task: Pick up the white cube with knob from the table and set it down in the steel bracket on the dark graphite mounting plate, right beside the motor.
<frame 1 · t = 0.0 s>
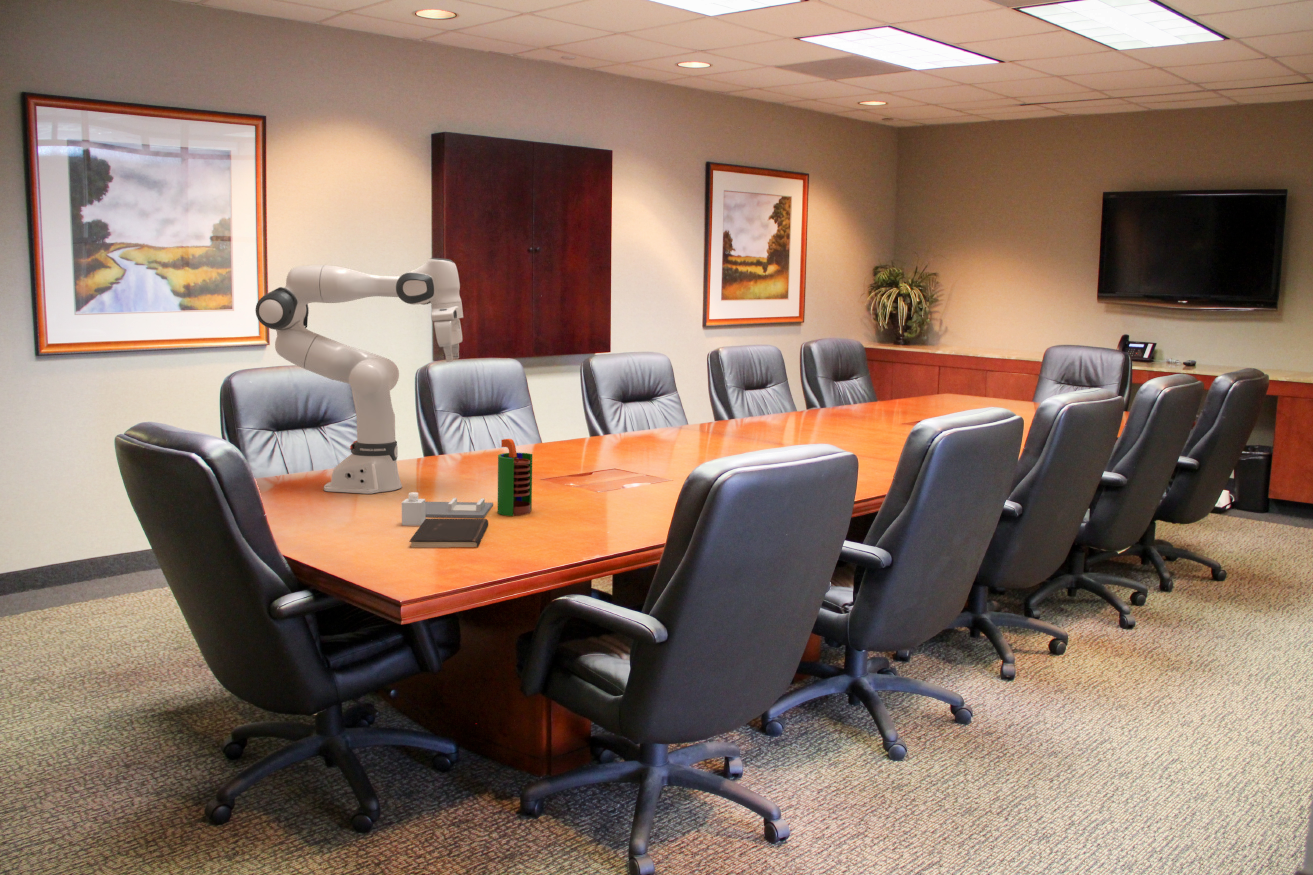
hand: (452, 360, 314), 39 cm above the table, tool pointing down, fingers open, 8 cm apart
motor: (514, 512, 290), on the table
hardcover book: (450, 538, 262), on the table
white cube with knob: (413, 523, 275), on the table
mounting plate: (451, 510, 290), on the table
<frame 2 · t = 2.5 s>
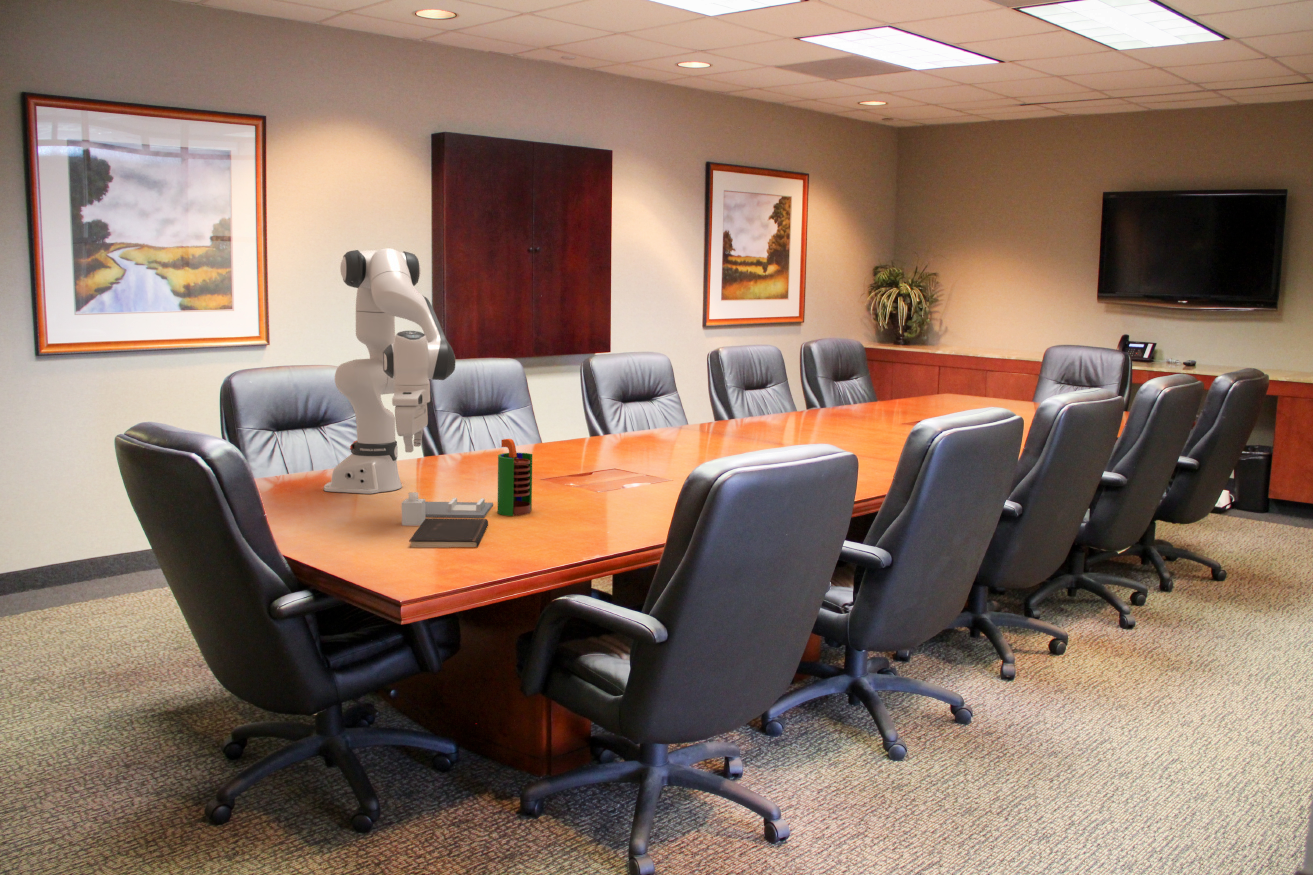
hand: (413, 449, 272), 19 cm above the table, tool pointing down, fingers open, 8 cm apart
nothing on the table moved.
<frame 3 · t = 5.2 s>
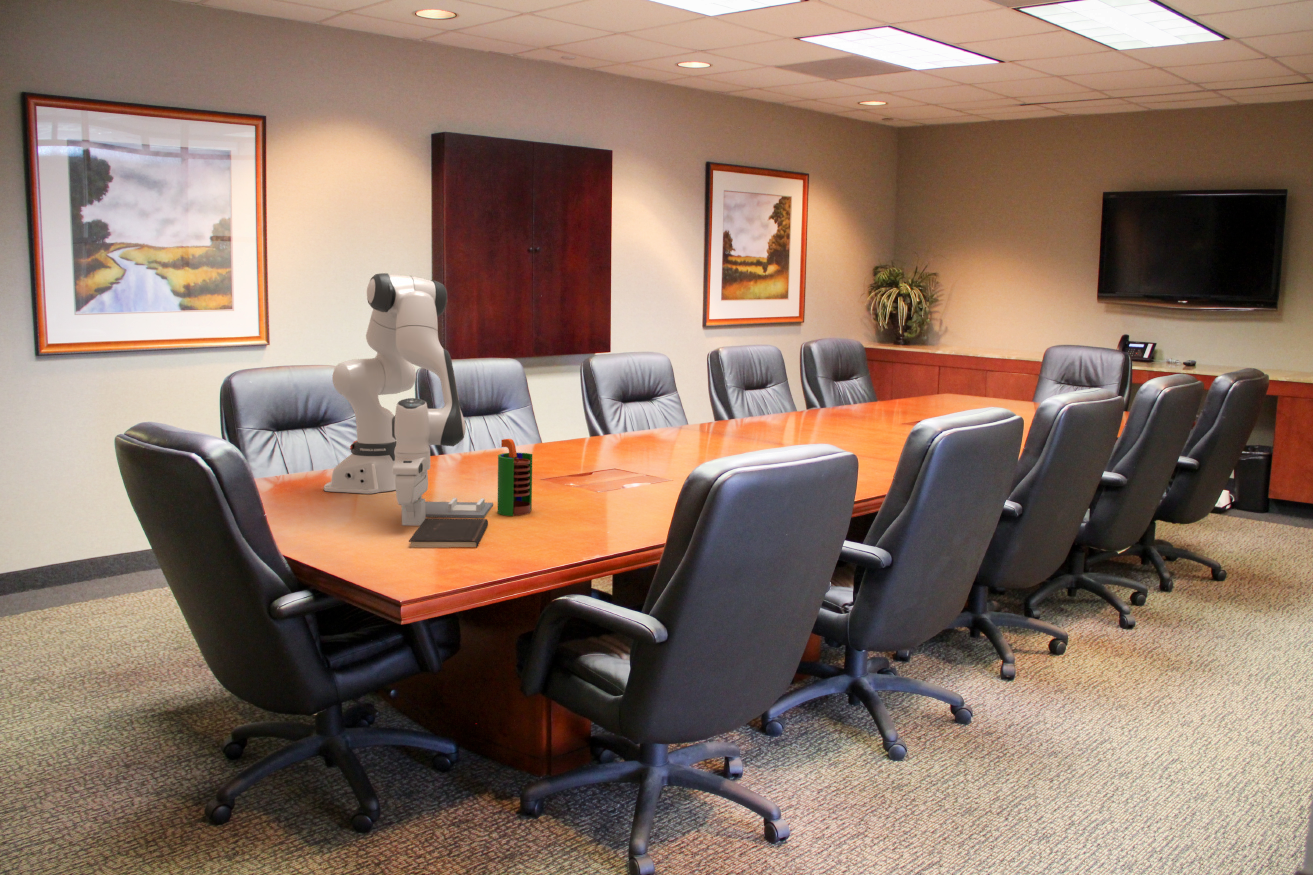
hand: (413, 515, 274), 2 cm above the table, tool pointing down, fingers closed on white cube with knob, 5 cm apart
white cube with knob: (413, 523, 275), on the table, touching gripper
everything else where it was.
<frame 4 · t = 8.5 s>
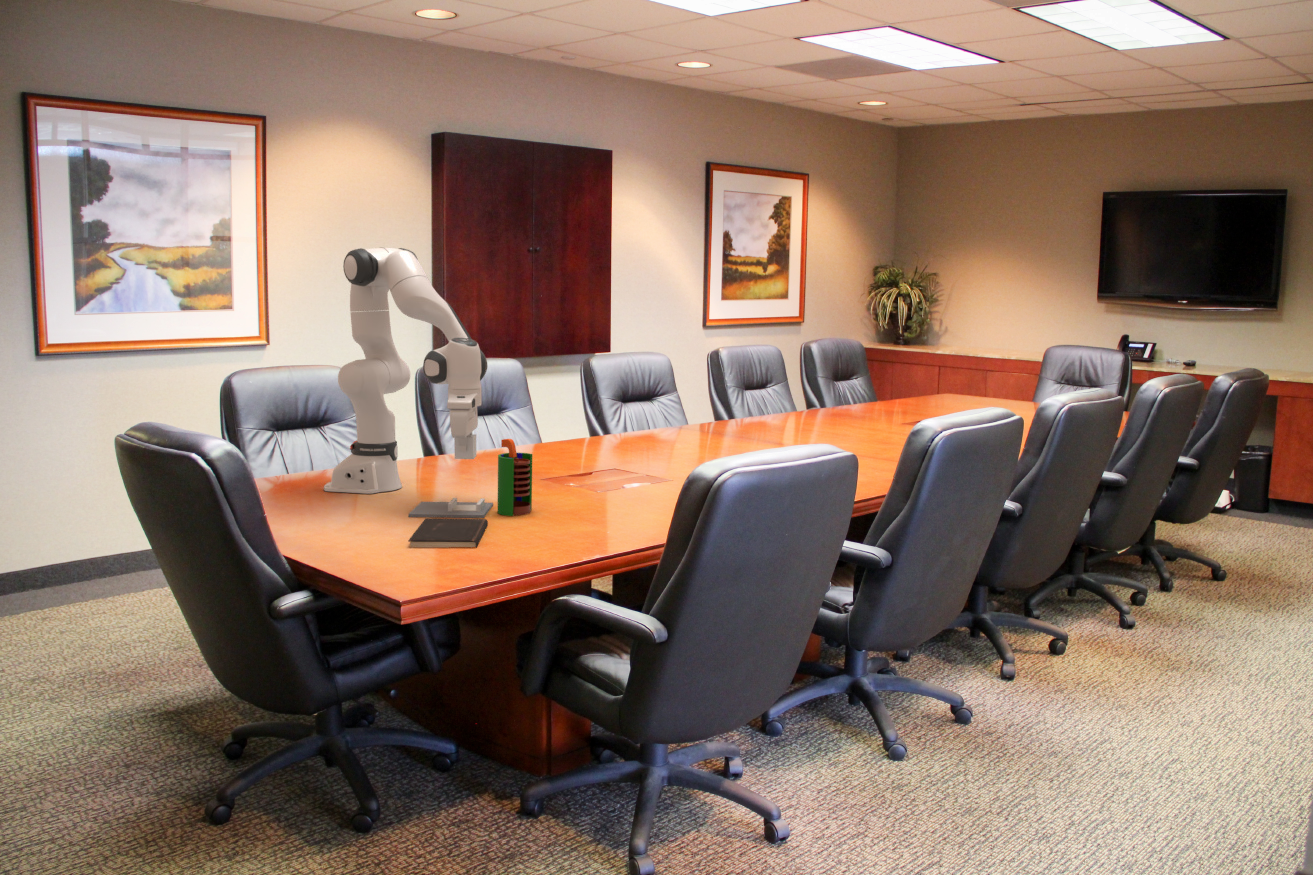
hand: (465, 449, 287), 17 cm above the table, tool pointing down, fingers closed on white cube with knob, 5 cm apart
white cube with knob: (465, 457, 287), point 15 cm above the table, touching gripper
everything else where it was.
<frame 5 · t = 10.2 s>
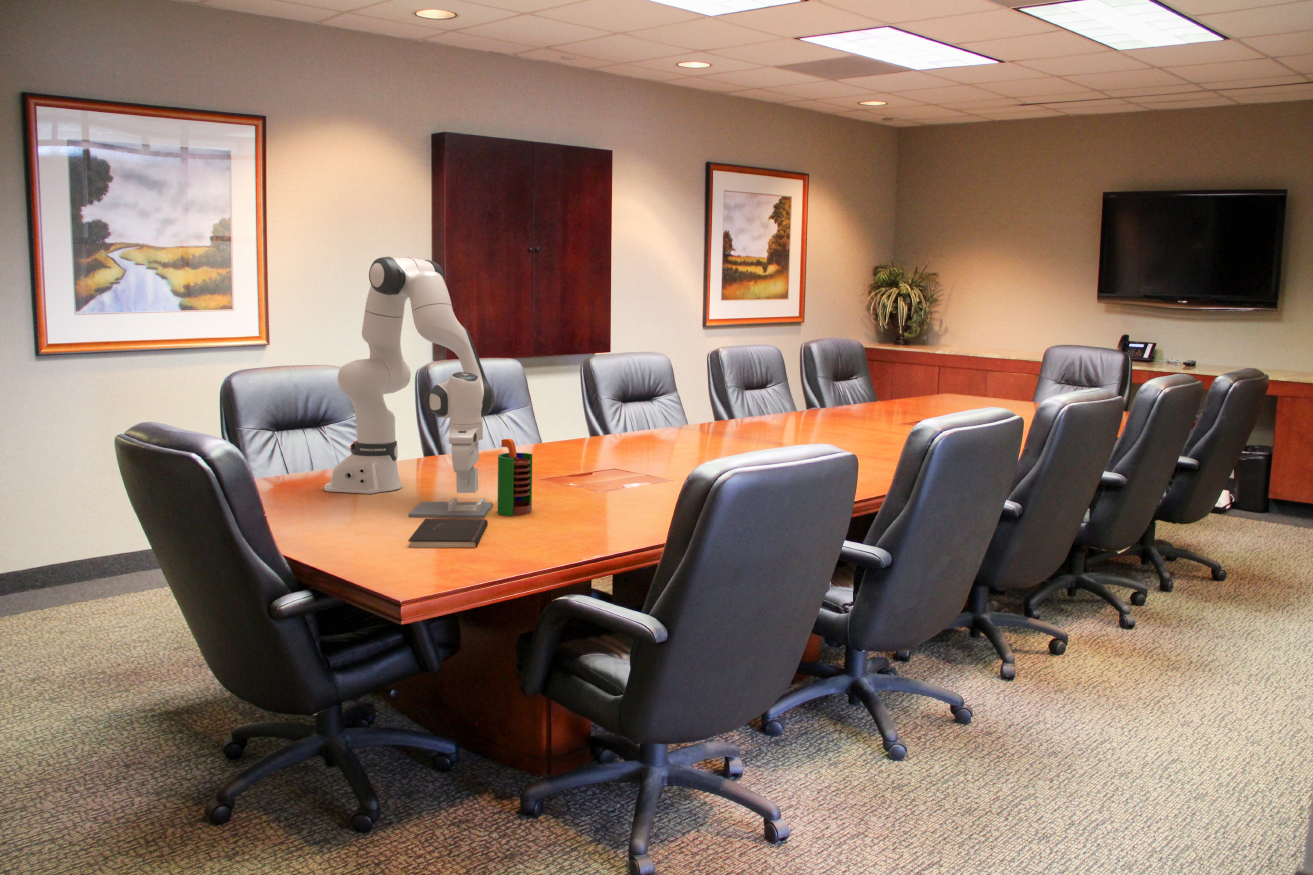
hand: (467, 483, 288), 8 cm above the table, tool pointing down, fingers closed on white cube with knob, 5 cm apart
white cube with knob: (467, 491, 289), point 6 cm above the table, touching gripper
everything else where it was.
when the fingers open (5 cm above the table, at t = 11.7 s): white cube with knob drops 1 cm, resting on mounting plate.
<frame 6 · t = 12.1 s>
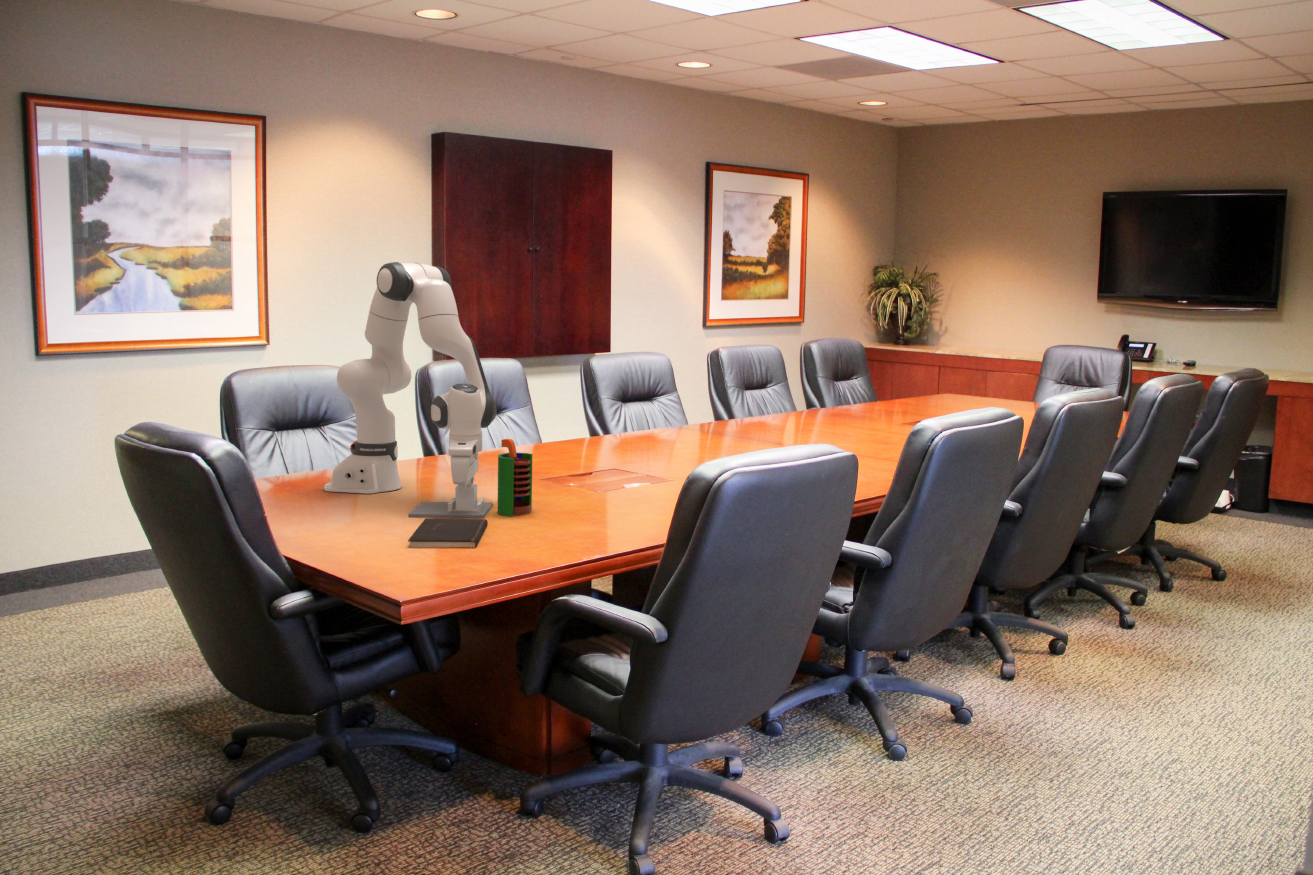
hand: (466, 494, 289), 5 cm above the table, tool pointing down, fingers open, 8 cm apart
white cube with knob: (466, 507, 290), point 1 cm above the table, touching mounting plate
everything else where it was.
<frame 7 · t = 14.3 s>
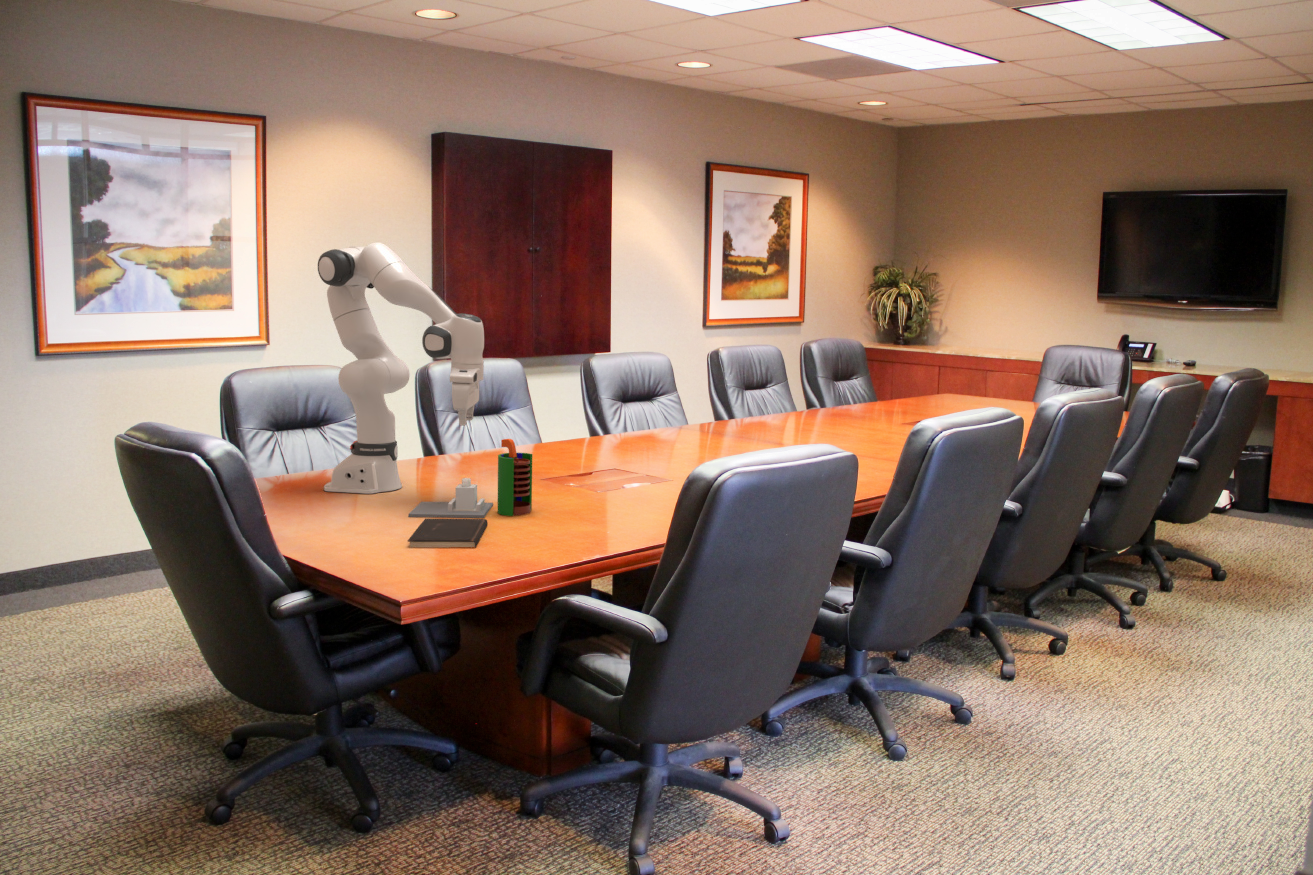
hand: (466, 422, 296), 23 cm above the table, tool pointing down, fingers open, 8 cm apart
nothing on the table moved.
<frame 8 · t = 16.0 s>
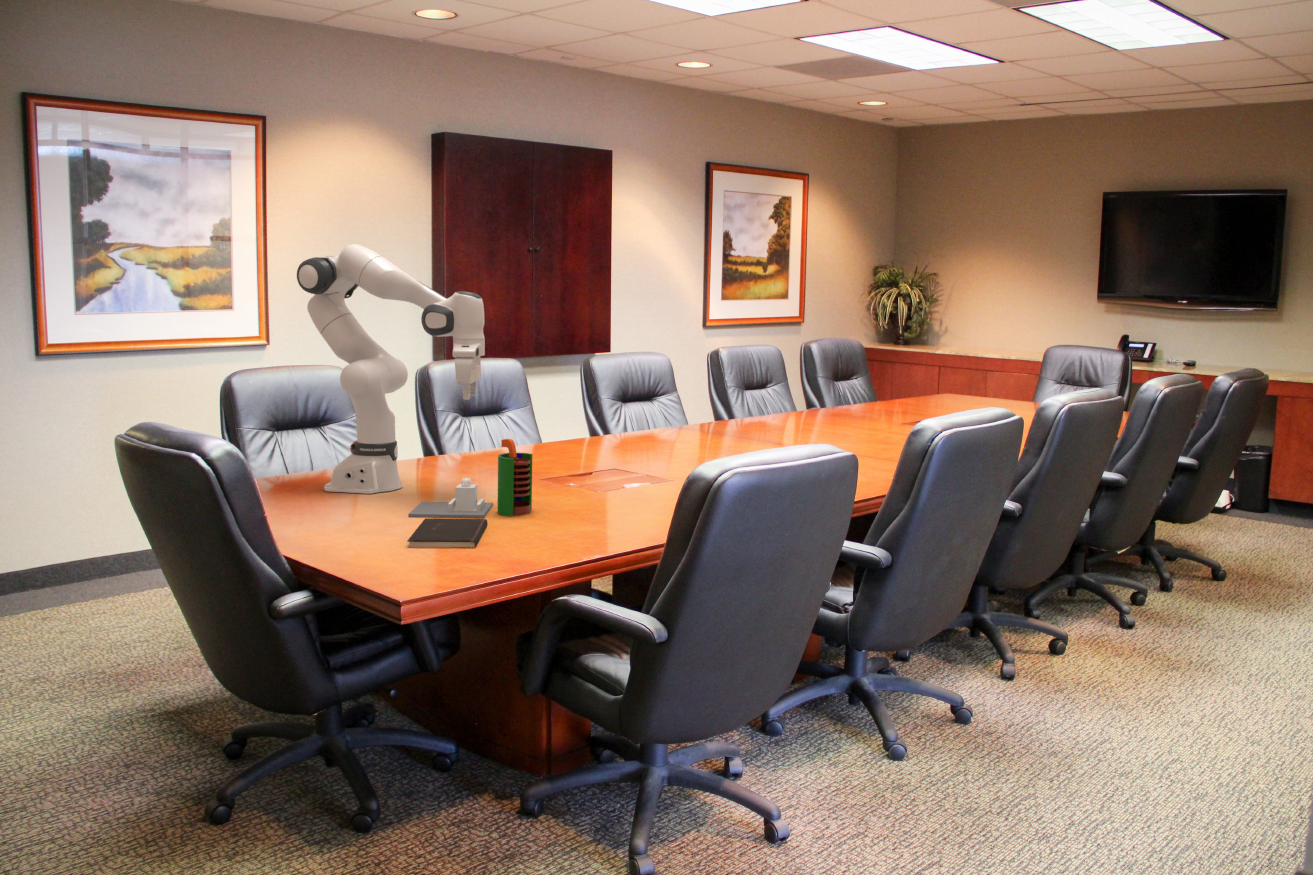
hand: (469, 397, 303), 29 cm above the table, tool pointing down, fingers open, 8 cm apart
nothing on the table moved.
at the end: white cube with knob 0.1 cm from the target spot on the mounting plate, point 1.0 cm above the mounting plate's base; white cube with knob tilted 0°; motor moved 0.2 cm from its start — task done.
